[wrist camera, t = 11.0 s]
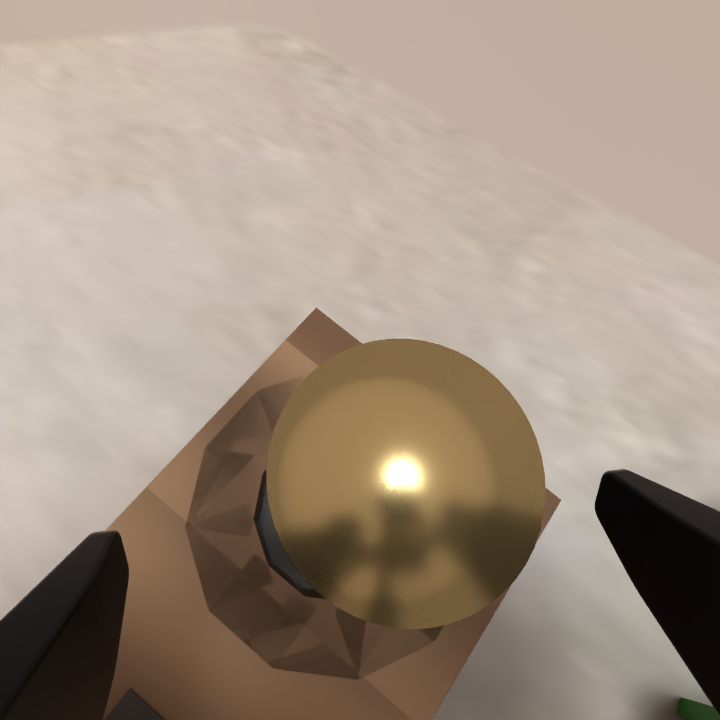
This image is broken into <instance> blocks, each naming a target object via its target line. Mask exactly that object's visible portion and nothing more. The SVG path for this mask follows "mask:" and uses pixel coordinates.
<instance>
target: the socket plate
mask: <svg viewBox="0 0 720 720" xmlns="http://www.w3.org/2000/svg"><path fill="white" fill-rule="evenodd" d="M361 344H362V343H360V342H359V341H358V340H357V339H355V338H354V337H353V336H352V335H350V334H349V333H348V332H346V331H345V330H344V329H343V328H341V327H340V326H339V325H338V324H336V323H335V322H334V321H332V320H331V319H330V318H329V317H327V316H326V315H325V314H324V313H322V312H321V311H320V310H318V309H317V308H315V310H314V311H313V312H312V313H311V314H310V315H309V316H308V317H307V318H306V319H305V320H304V321H303V322H302V323H301V324H300V325H299V326H298V328H297V329H296V330H295V331H294V332H293V333H292V334H291V335H290V336H289V337H288V338H287V339H286V340H285V341H284V342H283V343H282V344H281V346H280V347H279V348H278V349H277V350H276V351H275V352H274V353H273V354H272V355H271V356H270V357H269V358H268V359H267V360H266V361H265V362H264V364H263V365H262V366H261V367H260V368H259V369H258V370H257V371H256V372H255V373H254V374H253V375H252V376H251V377H250V378H249V379H248V380H247V381H246V383H245V384H244V385H243V386H242V387H241V388H240V389H239V390H238V391H237V392H236V393H235V394H234V395H233V396H232V397H231V398H230V399H229V401H228V402H227V403H226V404H225V405H224V406H223V407H222V408H221V409H220V410H219V411H218V412H217V413H216V414H215V415H214V416H213V417H212V419H211V420H210V421H209V422H208V423H207V424H206V425H205V426H204V427H203V428H202V429H201V430H200V431H199V432H198V433H197V434H196V435H195V437H194V438H193V439H192V440H191V441H190V442H189V443H188V444H187V445H186V446H185V447H184V448H183V449H182V450H181V451H180V452H179V453H178V455H177V456H176V457H175V458H174V459H173V460H172V461H171V462H170V463H169V464H168V465H167V466H166V467H165V468H164V469H163V470H162V471H161V472H160V474H159V475H158V476H157V477H156V478H155V479H154V480H153V481H152V482H151V483H150V484H149V485H148V486H147V487H146V488H145V489H144V490H143V492H142V493H141V494H140V495H139V496H138V497H137V498H136V499H135V500H134V501H133V502H132V503H131V504H130V505H129V506H128V507H127V508H126V510H125V511H124V512H123V513H122V514H121V515H120V516H119V517H118V518H117V519H116V520H115V521H114V522H113V523H112V524H111V525H110V526H109V528H108V529H107V530H106V531H110V530H116V531H118V532H119V533H120V535H121V538H122V542H123V546H124V550H125V553H126V557H127V561H128V566H129V581H128V588H127V595H126V602H125V609H124V616H123V622H122V629H121V636H120V643H119V650H118V656H117V662H116V668H115V674H114V678H113V682H112V686H111V690H110V694H109V698H108V702H107V706H106V710H105V713H104V717H103V720H432V718H433V717H434V715H435V713H436V711H437V710H438V708H439V706H440V705H441V703H442V701H443V700H444V698H445V696H446V694H447V693H448V691H449V689H450V688H451V686H452V684H453V683H454V681H455V679H456V678H457V676H458V674H459V672H460V671H461V669H462V667H463V666H464V664H465V662H466V661H467V659H468V657H469V656H470V654H471V652H472V650H473V649H474V647H475V645H476V644H477V642H478V640H479V639H480V637H481V635H482V633H483V632H484V630H485V628H486V627H487V625H488V623H489V622H490V620H491V618H492V617H493V615H494V613H495V611H496V610H497V608H498V606H499V605H500V603H501V601H502V600H503V598H504V596H505V594H506V593H507V591H508V589H509V588H510V586H511V585H510V586H509V587H508V588H507V589H506V590H505V591H504V593H503V594H501V595H500V596H499V597H498V598H497V599H495V600H494V601H493V602H492V603H490V604H489V605H488V606H486V607H485V608H483V609H481V610H480V611H478V612H476V613H475V614H473V615H471V616H469V617H467V618H464V619H462V620H459V621H457V622H454V623H451V624H447V625H443V626H438V627H434V628H424V629H401V628H391V627H387V626H382V625H378V624H373V623H371V622H368V621H365V620H363V619H360V618H357V617H355V616H353V615H351V614H349V613H347V612H346V611H344V610H342V609H340V608H338V607H336V606H335V605H334V604H332V603H331V602H330V601H328V600H327V599H326V598H324V597H323V596H322V595H320V594H319V593H318V592H317V591H316V590H312V589H305V588H301V587H300V586H299V585H298V584H296V583H295V582H294V581H293V580H292V579H291V578H289V577H288V576H287V575H286V574H285V573H284V572H283V571H281V570H280V569H279V568H278V567H277V566H276V565H274V564H273V563H272V562H271V560H270V557H269V554H268V551H267V548H266V545H265V541H264V538H263V535H262V532H261V529H260V526H259V523H258V522H259V517H260V512H261V507H262V502H263V497H264V492H265V487H266V480H267V460H268V452H269V446H270V442H271V439H272V435H273V432H274V428H275V426H276V424H277V421H278V419H279V416H280V414H281V412H282V410H283V408H284V407H285V405H286V403H287V402H288V400H289V398H290V396H291V395H292V394H293V393H294V391H295V390H296V389H297V387H298V386H299V385H300V384H301V382H302V381H303V380H304V379H305V378H306V377H307V376H308V375H309V374H310V373H312V372H313V371H314V370H315V369H316V368H317V367H319V366H320V365H321V364H323V363H324V362H325V361H327V360H328V359H330V358H332V357H334V356H335V355H337V354H339V353H341V352H342V351H345V350H347V349H350V348H352V347H355V346H357V345H361ZM560 501H561V500H560V499H559V498H558V497H557V496H555V495H554V494H553V493H551V492H550V491H549V490H548V489H546V488H545V506H544V514H543V519H542V524H541V529H540V532H539V535H538V538H537V540H538V539H539V537H540V535H541V533H542V532H543V530H544V528H545V527H546V525H547V523H548V522H549V520H550V518H551V517H552V515H553V513H554V511H555V510H556V508H557V506H558V505H559V503H560ZM536 542H537V541H536Z"/></svg>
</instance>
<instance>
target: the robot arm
mask: <svg viewBox="0 0 720 720" xmlns="http://www.w3.org/2000/svg"><path fill="white" fill-rule="evenodd" d="M595 511H596V515H597V517H598V519H599V521H600V523H601V525H602V527H603V528H604V530H605V532H606V534H607V536H608V538H609V540H610V542H611V544H612V545H613V547H614V549H615V551H616V553H617V555H618V557H619V559H620V560H621V562H622V564H623V566H624V568H625V570H626V572H627V574H628V575H629V577H630V579H631V581H632V582H633V584H634V586H635V588H636V589H637V591H638V592H639V594H640V596H641V597H642V599H643V600H644V602H645V603H646V605H647V606H648V608H649V609H650V611H651V612H652V614H653V616H654V617H655V619H656V620H657V622H658V623H659V625H660V626H661V628H662V629H663V631H664V632H665V634H666V635H667V637H668V638H669V640H670V641H671V643H672V644H673V646H674V647H675V649H676V650H677V652H678V654H679V655H680V657H681V658H682V660H683V661H684V663H685V664H686V666H687V667H688V669H689V670H690V672H691V673H692V675H693V676H694V678H695V679H696V681H697V682H698V684H699V685H700V687H701V688H702V690H703V692H704V693H705V695H706V696H707V698H708V699H709V701H710V702H711V704H712V705H713V707H714V708H715V710H716V711H717V713H718V714H719V716H720V512H719V511H717V510H715V509H713V508H710V507H708V506H706V505H704V504H702V503H699V502H697V501H695V500H693V499H691V498H688V497H686V496H684V495H682V494H680V493H677V492H675V491H673V490H671V489H669V488H666V487H664V486H662V485H660V484H657V483H655V482H653V481H651V480H649V479H646V478H644V477H642V476H640V475H638V474H635V473H633V472H631V471H629V470H625V469H621V470H612V471H607V472H605V473H604V474H603V476H602V478H601V482H600V486H599V489H598V493H597V497H596V501H595ZM128 581H129V566H128V561H127V557H126V553H125V550H124V546H123V542H122V538H121V535H120V533H119V532H118V531H116V530H110V531H101V532H95V533H92V534H90V535H89V536H88V537H86V538H85V539H84V540H83V541H82V542H81V543H80V544H79V545H78V546H77V547H76V548H75V549H74V550H73V551H72V552H71V553H70V554H69V555H68V556H67V557H66V558H65V559H64V560H63V561H62V562H61V563H60V564H58V565H57V566H56V567H55V568H54V569H53V570H52V571H51V572H50V573H49V574H48V575H47V576H46V577H45V578H44V579H43V580H42V581H41V582H40V583H39V584H38V585H37V586H36V587H35V588H34V589H33V590H32V591H30V592H29V593H28V594H27V595H26V596H25V597H24V598H23V599H22V600H21V601H20V602H19V603H18V604H17V605H16V606H15V607H14V608H13V609H12V610H11V611H10V612H9V613H8V614H7V615H6V616H5V617H4V618H3V619H1V620H0V720H103V717H104V713H105V710H106V706H107V702H108V698H109V694H110V690H111V686H112V682H113V678H114V674H115V668H116V662H117V656H118V650H119V643H120V636H121V629H122V622H123V616H124V609H125V602H126V595H127V588H128Z"/></svg>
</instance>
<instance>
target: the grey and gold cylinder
mask: <svg viewBox="0 0 720 720" xmlns="http://www.w3.org/2000/svg"><path fill="white" fill-rule="evenodd" d="M266 486H267V494H268V502H269V508H270V512H271V516H272V519H273V523H274V527H275V529H276V531H277V534H278V536H279V539H280V541H281V544H282V546H283V547H284V549H285V551H286V553H287V554H288V556H289V558H290V560H291V561H292V563H293V564H294V566H295V567H296V568H297V570H298V571H299V572H300V574H301V575H302V576H303V577H304V579H305V580H306V581H307V582H308V583H309V584H310V585H311V586H312V587H313V588H314V589H315V590H316V591H317V592H318V593H319V594H320V595H322V596H323V597H324V598H326V599H327V600H328V601H330V602H331V603H332V604H334V605H335V606H336V607H338V608H340V609H342V610H344V611H346V612H347V613H349V614H351V615H353V616H355V617H357V618H360V619H363V620H365V621H368V622H371V623H373V624H378V625H382V626H387V627H391V628H401V629H424V628H434V627H438V626H443V625H447V624H451V623H454V622H457V621H459V620H462V619H464V618H467V617H469V616H471V615H473V614H475V613H476V612H478V611H480V610H481V609H483V608H485V607H486V606H488V605H489V604H490V603H492V602H493V601H494V600H495V599H497V598H498V597H499V596H500V595H501V594H503V593H504V591H505V590H506V589H507V588H508V587H509V586H510V585H511V584H512V583H513V582H514V581H515V579H516V578H517V576H518V575H519V574H520V572H521V571H522V569H523V568H524V566H525V565H526V563H527V561H528V559H529V557H530V555H531V553H532V551H533V549H534V547H535V544H536V541H537V538H538V535H539V532H540V529H541V524H542V519H543V514H544V506H545V474H544V468H543V462H542V456H541V453H540V449H539V446H538V443H537V439H536V437H535V434H534V432H533V430H532V427H531V425H530V423H529V421H528V419H527V417H526V416H525V414H524V412H523V410H522V409H521V407H520V405H519V404H518V403H517V401H516V400H515V399H514V397H513V396H512V395H511V393H510V392H509V391H508V390H507V389H506V388H505V387H504V385H503V384H502V383H501V382H500V381H499V380H498V379H497V378H496V377H494V376H493V375H492V374H491V373H490V372H489V371H487V370H486V369H485V368H484V367H482V366H481V365H479V364H478V363H476V362H475V361H473V360H472V359H470V358H468V357H466V356H465V355H463V354H461V353H459V352H457V351H455V350H452V349H449V348H447V347H444V346H441V345H438V344H434V343H430V342H426V341H420V340H412V339H386V340H378V341H372V342H369V343H365V344H361V345H357V346H355V347H352V348H350V349H347V350H345V351H342V352H341V353H339V354H337V355H335V356H334V357H332V358H330V359H328V360H327V361H325V362H324V363H323V364H321V365H320V366H319V367H317V368H316V369H315V370H314V371H313V372H312V373H310V374H309V375H308V376H307V377H306V378H305V379H304V380H303V381H302V382H301V384H300V385H299V386H298V387H297V389H296V390H295V391H294V393H293V394H292V395H291V396H290V398H289V400H288V402H287V403H286V405H285V407H284V408H283V410H282V412H281V414H280V416H279V419H278V421H277V424H276V426H275V428H274V432H273V435H272V439H271V442H270V446H269V452H268V460H267V480H266Z"/></svg>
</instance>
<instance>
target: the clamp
mask: <svg viewBox="0 0 720 720" xmlns="http://www.w3.org/2000/svg"><path fill="white" fill-rule="evenodd" d="M677 713H678V714H679V715H681V716H682V717H684V718H686V719H687V720H720V716H719V714H718V713H717V711H716V710H715V708H714V707H712V706H708V705H705V704H702V703H698V702H695V701H692V700H688V699H685V698H681V700H680V703H679V707H678V711H677Z"/></svg>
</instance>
